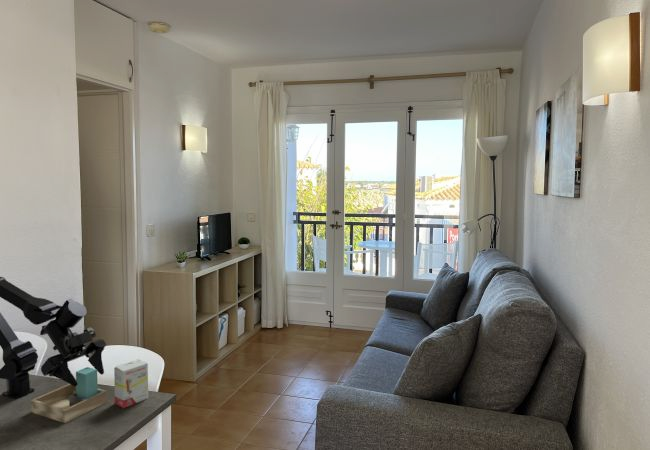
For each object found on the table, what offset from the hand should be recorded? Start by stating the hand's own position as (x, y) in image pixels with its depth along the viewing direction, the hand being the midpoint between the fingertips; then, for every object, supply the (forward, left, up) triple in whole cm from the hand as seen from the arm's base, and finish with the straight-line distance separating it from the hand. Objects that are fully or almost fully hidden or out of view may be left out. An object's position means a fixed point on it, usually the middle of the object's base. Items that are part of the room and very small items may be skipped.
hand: (90, 379), depth 145 cm
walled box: (-5, -3, -9) cm, 10 cm away
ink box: (+8, +8, -9) cm, 14 cm away
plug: (-1, 0, -8) cm, 8 cm away
